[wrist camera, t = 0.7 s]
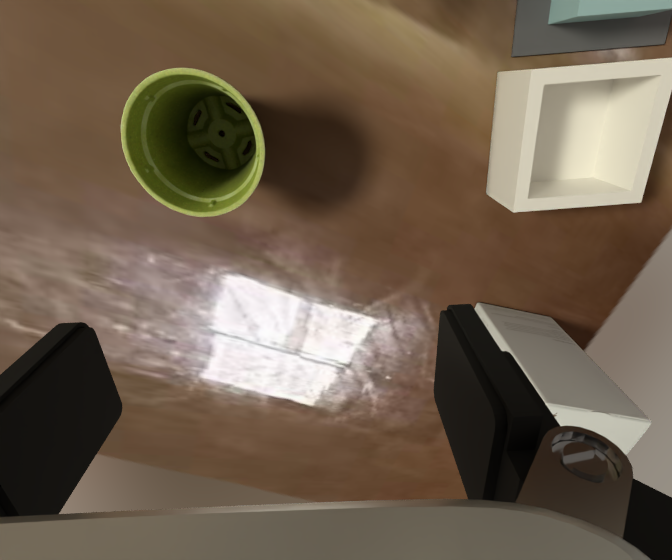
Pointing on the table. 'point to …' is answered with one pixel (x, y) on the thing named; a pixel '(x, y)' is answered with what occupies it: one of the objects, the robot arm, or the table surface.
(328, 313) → the table surface
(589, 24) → the mat
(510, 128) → the white open-top box
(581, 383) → the supplement box
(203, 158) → the plant pot
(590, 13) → the teal rectangular block
